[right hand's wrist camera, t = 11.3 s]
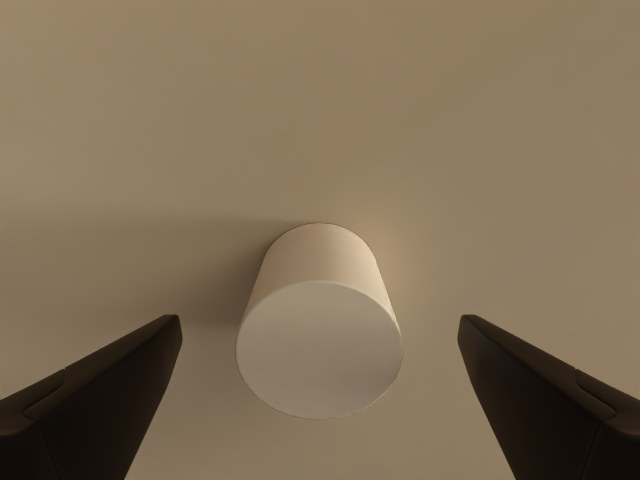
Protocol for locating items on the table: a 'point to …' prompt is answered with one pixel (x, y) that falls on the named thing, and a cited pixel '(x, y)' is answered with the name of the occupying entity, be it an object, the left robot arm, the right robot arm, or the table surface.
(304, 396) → the canister
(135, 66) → the table surface
